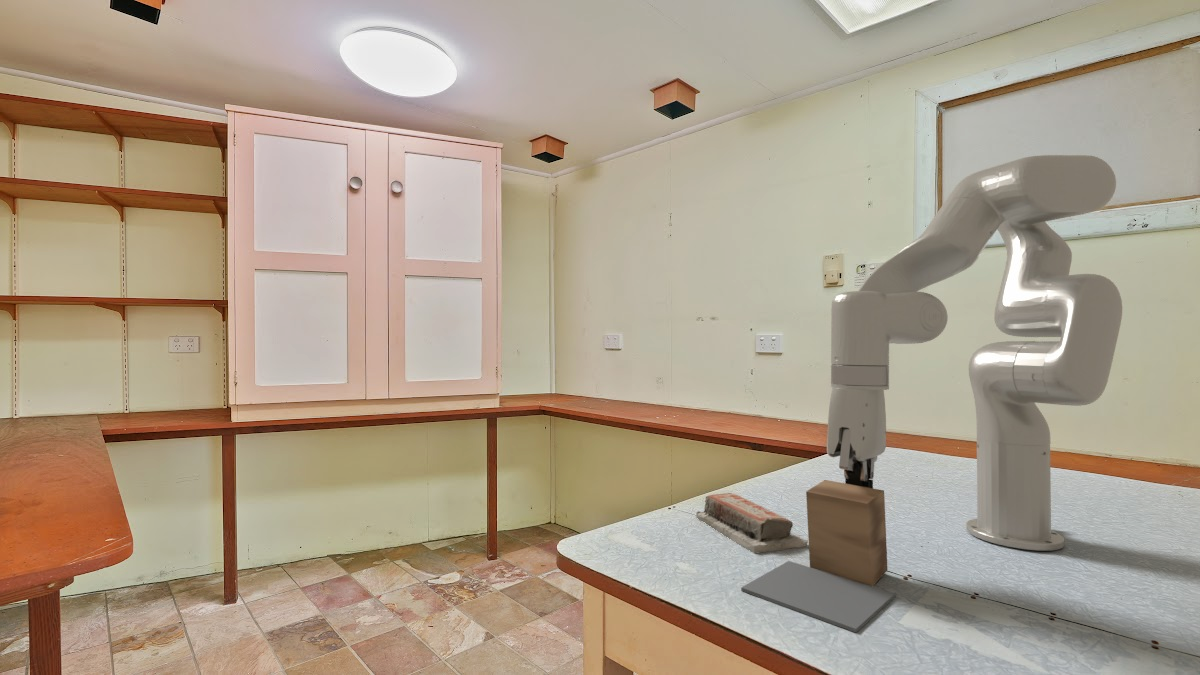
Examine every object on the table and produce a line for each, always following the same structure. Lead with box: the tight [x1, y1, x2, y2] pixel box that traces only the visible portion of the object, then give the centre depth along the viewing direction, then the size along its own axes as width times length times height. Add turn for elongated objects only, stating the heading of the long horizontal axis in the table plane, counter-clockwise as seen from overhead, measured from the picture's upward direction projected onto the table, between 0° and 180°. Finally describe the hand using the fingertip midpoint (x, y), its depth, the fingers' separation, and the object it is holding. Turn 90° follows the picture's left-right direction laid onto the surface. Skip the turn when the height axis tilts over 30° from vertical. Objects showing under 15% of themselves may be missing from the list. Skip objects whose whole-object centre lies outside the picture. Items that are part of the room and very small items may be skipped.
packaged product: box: [696, 492, 809, 554], centre depth 91 cm, size 18×5×10 cm
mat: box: [740, 560, 897, 633], centre depth 68 cm, size 12×14×1 cm
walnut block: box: [805, 479, 888, 586], centre depth 75 cm, size 6×8×11 cm
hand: (858, 506), depth 78 cm, fingers closed
